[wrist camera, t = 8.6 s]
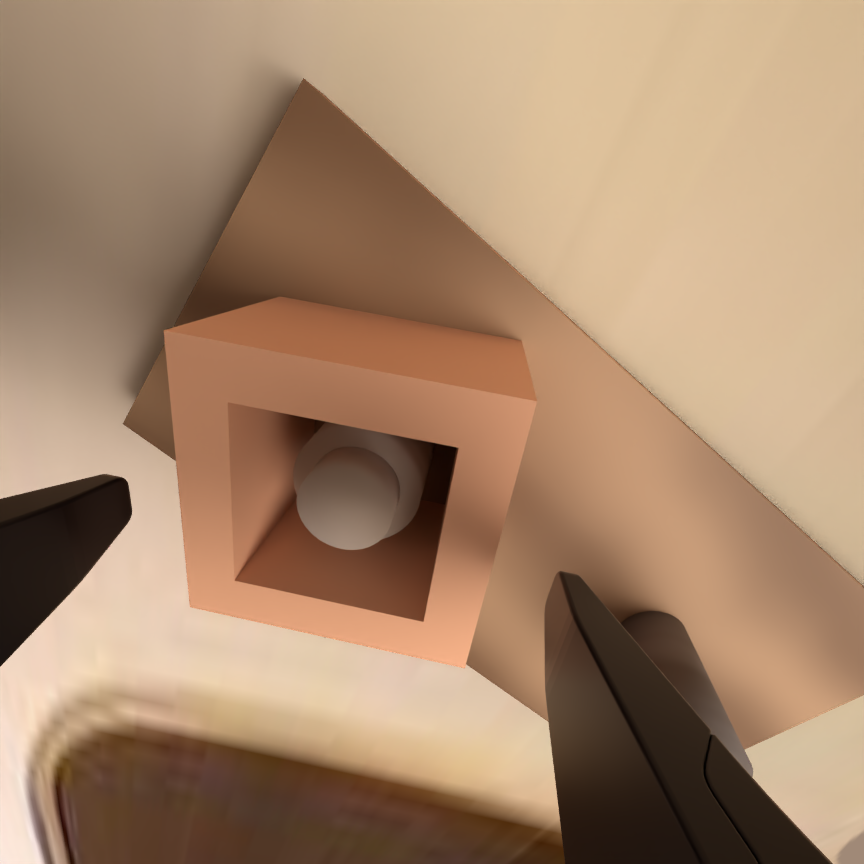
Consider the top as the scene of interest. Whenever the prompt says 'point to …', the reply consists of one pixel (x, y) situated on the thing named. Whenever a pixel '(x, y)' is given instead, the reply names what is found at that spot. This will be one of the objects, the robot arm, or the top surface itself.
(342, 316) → the collar
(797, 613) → the collar board
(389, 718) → the top surface
